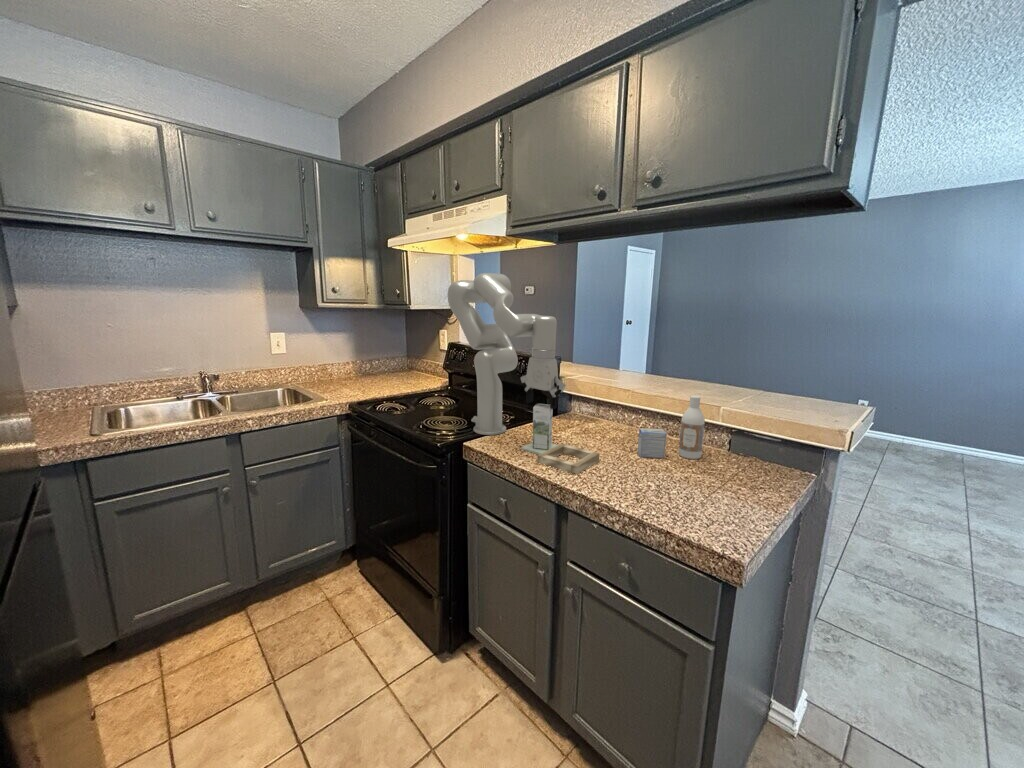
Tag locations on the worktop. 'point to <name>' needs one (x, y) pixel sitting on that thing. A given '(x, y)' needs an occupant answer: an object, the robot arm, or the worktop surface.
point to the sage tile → (536, 451)
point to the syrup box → (542, 426)
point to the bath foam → (692, 430)
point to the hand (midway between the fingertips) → (541, 405)
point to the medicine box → (652, 443)
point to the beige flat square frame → (585, 462)
